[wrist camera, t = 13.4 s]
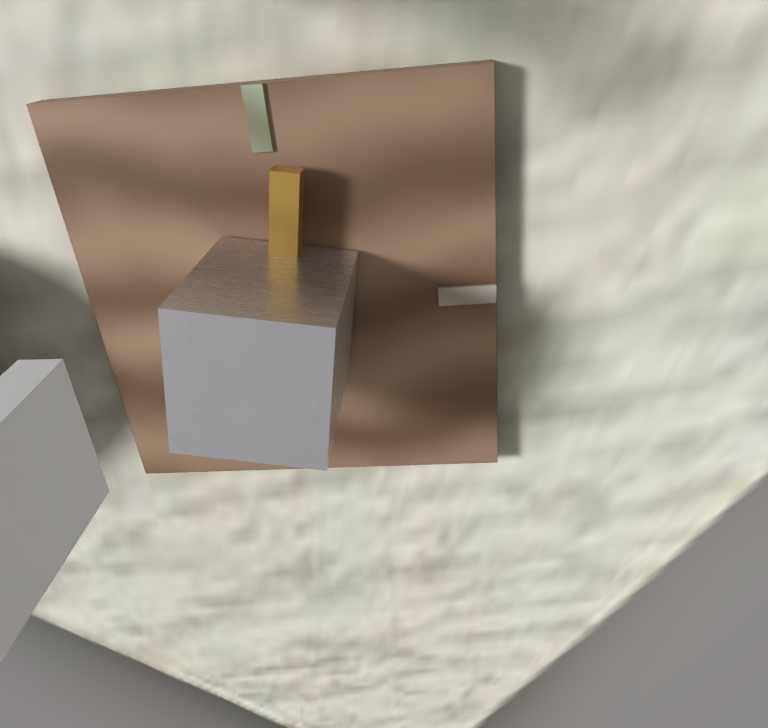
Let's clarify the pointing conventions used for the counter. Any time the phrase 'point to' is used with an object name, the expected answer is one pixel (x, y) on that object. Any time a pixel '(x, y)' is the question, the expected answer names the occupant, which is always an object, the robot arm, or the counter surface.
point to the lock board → (319, 228)
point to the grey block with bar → (260, 343)
